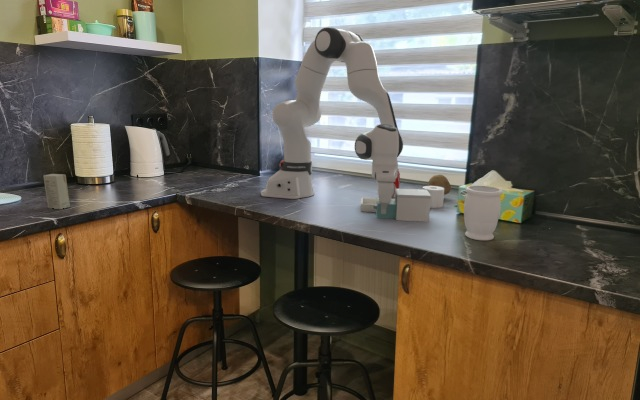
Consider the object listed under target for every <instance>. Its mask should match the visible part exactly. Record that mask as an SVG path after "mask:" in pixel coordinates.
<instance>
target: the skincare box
mask: <svg viewBox="0 0 640 400" xmlns="http://www.w3.org/2000/svg"><path fill="white" fill-rule="evenodd" d="M42 176H43V181H44V183H43V184H44V188H45V189H44V190H45V197H46V203H47V209H52V208H54V210H64V209H66V208H70V207H71V203H70V198H69V197H70V196H69V189H68V183H67V182H68V181H67V176H66V174H62V173H60V174H59V173H50V174H44V175H42ZM63 208H64V209H63Z"/></svg>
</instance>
